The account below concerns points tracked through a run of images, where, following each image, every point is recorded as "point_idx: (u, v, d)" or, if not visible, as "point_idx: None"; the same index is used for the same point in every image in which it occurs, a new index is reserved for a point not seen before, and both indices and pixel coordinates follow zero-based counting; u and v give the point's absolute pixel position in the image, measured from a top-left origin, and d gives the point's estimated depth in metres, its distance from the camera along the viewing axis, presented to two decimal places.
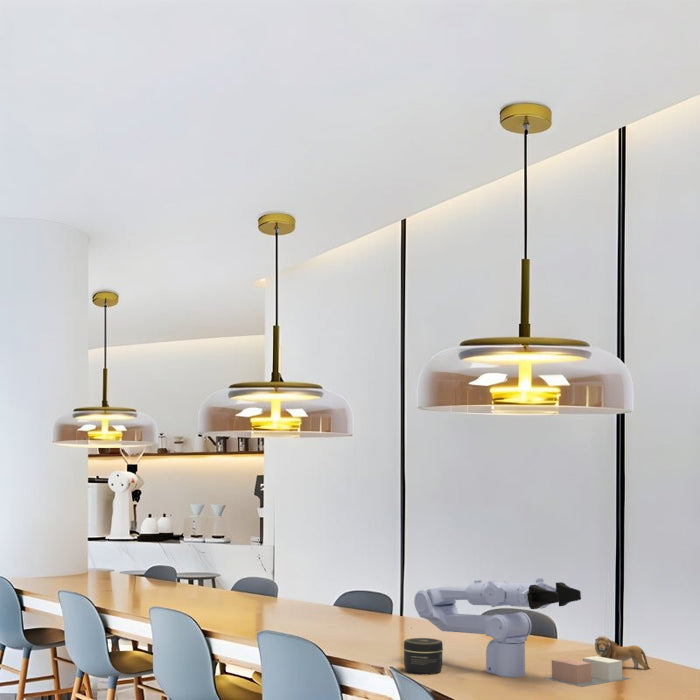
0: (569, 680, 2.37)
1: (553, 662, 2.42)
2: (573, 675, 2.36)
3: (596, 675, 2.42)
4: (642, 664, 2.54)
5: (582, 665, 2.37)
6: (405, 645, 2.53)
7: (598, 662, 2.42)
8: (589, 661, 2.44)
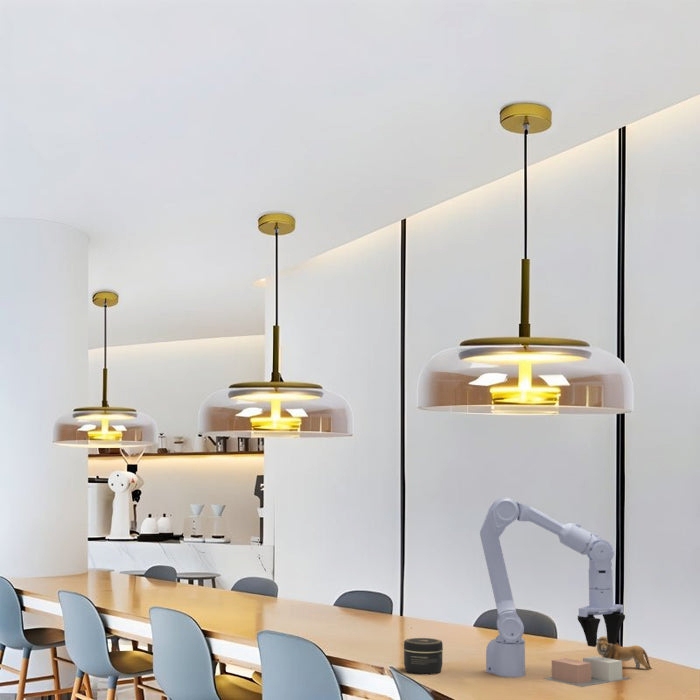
0: (569, 680, 2.37)
1: (553, 662, 2.42)
2: (573, 675, 2.36)
3: (596, 675, 2.42)
4: (644, 664, 2.54)
5: (582, 665, 2.37)
6: (405, 645, 2.53)
7: (598, 662, 2.42)
8: (589, 661, 2.44)
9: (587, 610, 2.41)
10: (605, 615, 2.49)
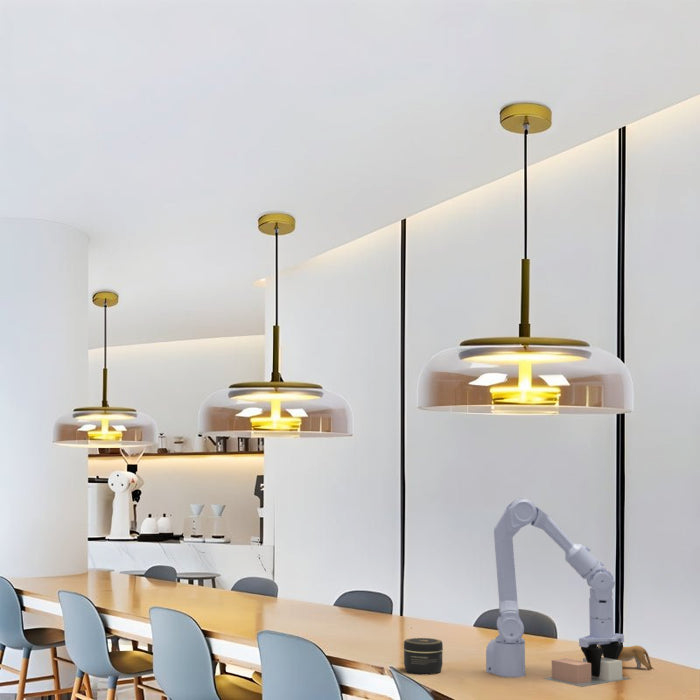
0: (569, 680, 2.37)
1: (553, 662, 2.42)
2: (573, 675, 2.36)
3: None
4: (645, 664, 2.54)
5: (582, 665, 2.37)
6: (405, 645, 2.53)
7: None
8: None
9: (587, 640, 2.40)
10: (603, 645, 2.48)
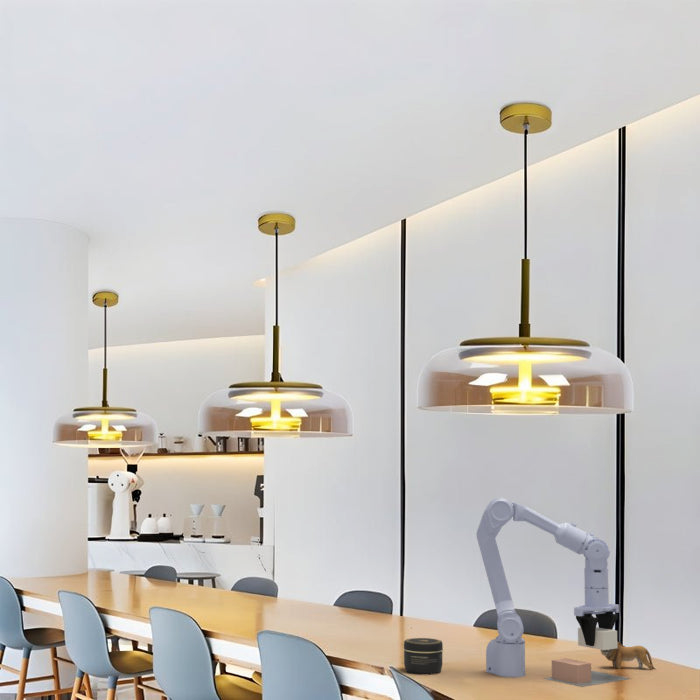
0: (569, 680, 2.37)
1: (553, 662, 2.42)
2: (573, 675, 2.36)
3: None
4: (647, 664, 2.54)
5: (582, 665, 2.37)
6: (405, 645, 2.53)
7: None
8: None
9: (582, 609, 2.41)
10: (598, 615, 2.48)
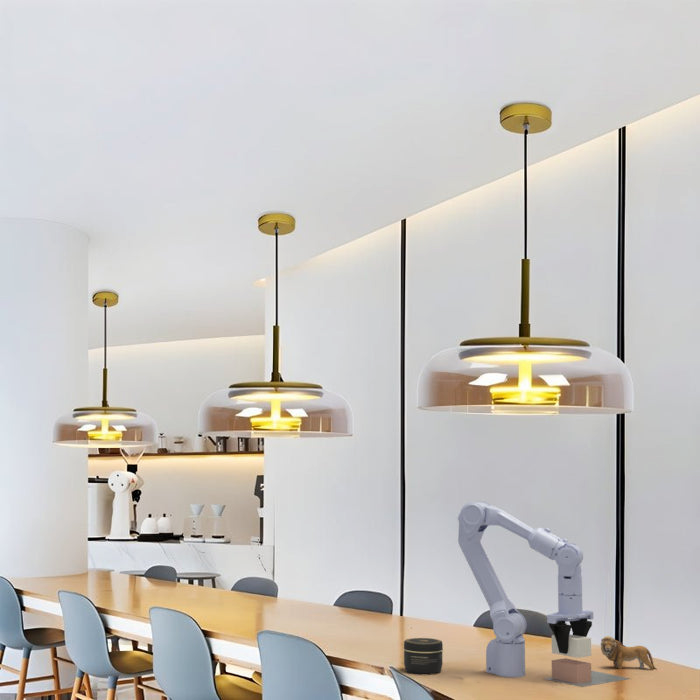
0: (569, 680, 2.37)
1: (553, 662, 2.42)
2: (573, 675, 2.36)
3: None
4: (648, 664, 2.54)
5: (582, 665, 2.37)
6: (405, 645, 2.53)
7: None
8: None
9: (555, 617, 2.37)
10: (572, 622, 2.45)
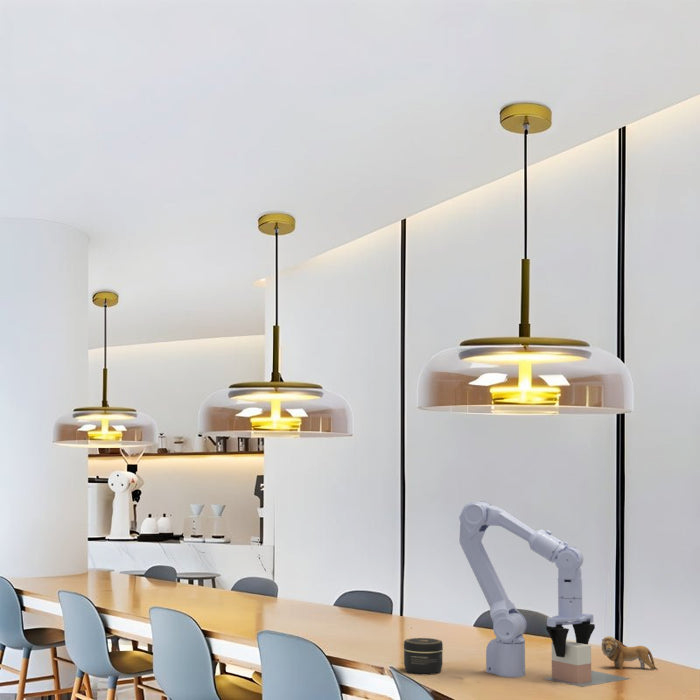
0: (569, 680, 2.37)
1: (553, 662, 2.42)
2: (573, 675, 2.36)
3: (565, 659, 2.39)
4: (649, 664, 2.54)
5: (582, 665, 2.37)
6: (405, 645, 2.53)
7: (567, 646, 2.39)
8: None
9: (555, 620, 2.37)
10: (575, 625, 2.45)
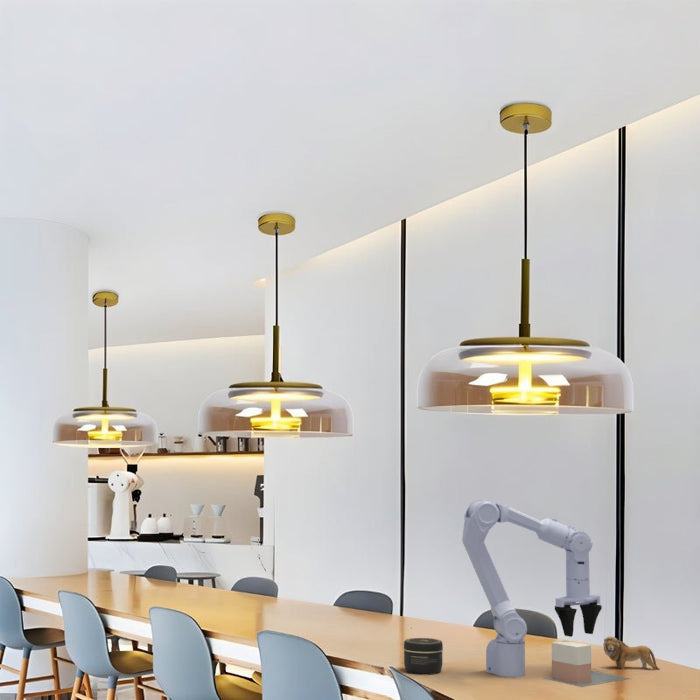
0: (569, 680, 2.37)
1: (553, 662, 2.42)
2: (573, 675, 2.36)
3: (565, 659, 2.39)
4: (650, 664, 2.54)
5: (582, 665, 2.37)
6: (405, 645, 2.53)
7: (567, 646, 2.39)
8: (558, 645, 2.41)
9: (564, 600, 2.45)
10: (582, 606, 2.53)
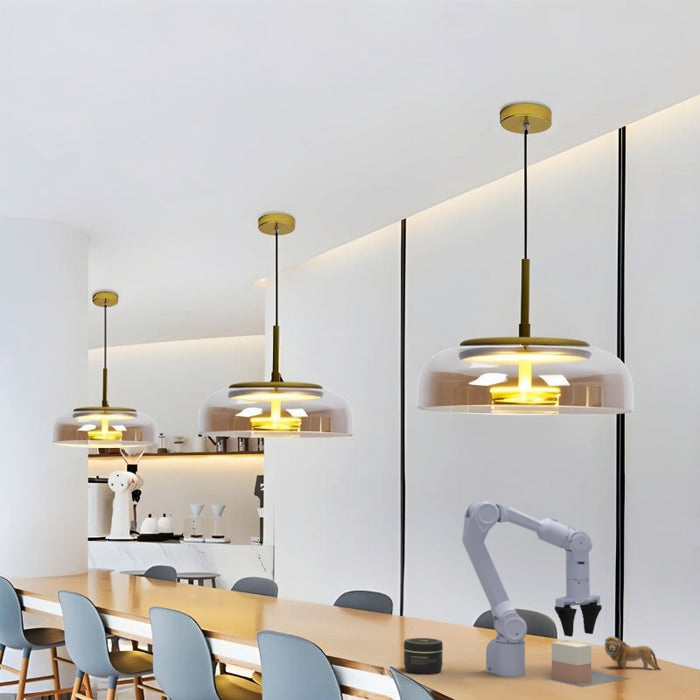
0: (569, 680, 2.37)
1: (553, 662, 2.42)
2: (573, 675, 2.36)
3: (565, 659, 2.39)
4: (652, 664, 2.54)
5: (582, 665, 2.37)
6: (405, 645, 2.53)
7: (567, 646, 2.39)
8: (558, 645, 2.41)
9: (564, 600, 2.45)
10: (582, 606, 2.53)
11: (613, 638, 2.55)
